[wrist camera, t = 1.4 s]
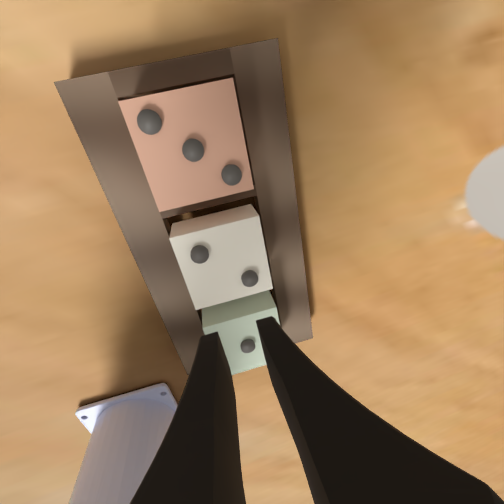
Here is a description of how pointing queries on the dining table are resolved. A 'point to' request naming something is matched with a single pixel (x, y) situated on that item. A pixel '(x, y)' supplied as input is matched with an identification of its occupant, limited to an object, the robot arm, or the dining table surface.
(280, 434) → the dining table surface
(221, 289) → the tile two
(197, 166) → the tile three
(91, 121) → the dice tray
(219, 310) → the tile one
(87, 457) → the robot arm
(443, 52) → the dining table surface
